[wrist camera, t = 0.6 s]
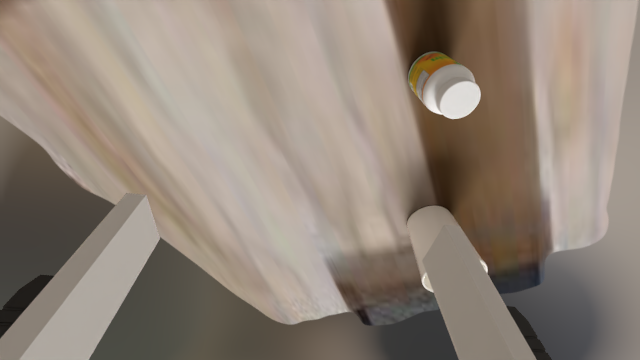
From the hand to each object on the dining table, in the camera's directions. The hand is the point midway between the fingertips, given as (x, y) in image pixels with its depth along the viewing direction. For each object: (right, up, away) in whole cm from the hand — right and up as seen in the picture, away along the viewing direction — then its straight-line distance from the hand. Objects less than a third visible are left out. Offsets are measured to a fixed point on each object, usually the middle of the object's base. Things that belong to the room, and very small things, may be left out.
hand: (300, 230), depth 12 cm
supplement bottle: (+15, +16, +23) cm, 32 cm away
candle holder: (+22, -5, +39) cm, 45 cm away
